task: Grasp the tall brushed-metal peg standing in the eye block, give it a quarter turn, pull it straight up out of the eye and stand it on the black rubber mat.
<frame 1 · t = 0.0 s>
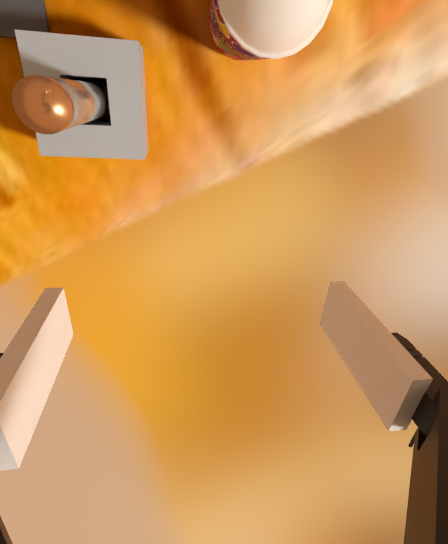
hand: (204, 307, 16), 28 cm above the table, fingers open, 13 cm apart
eye block: (99, 100, 35), on the table
peg: (78, 102, 27), in the eye block
smoothie: (239, 23, 34), on the table
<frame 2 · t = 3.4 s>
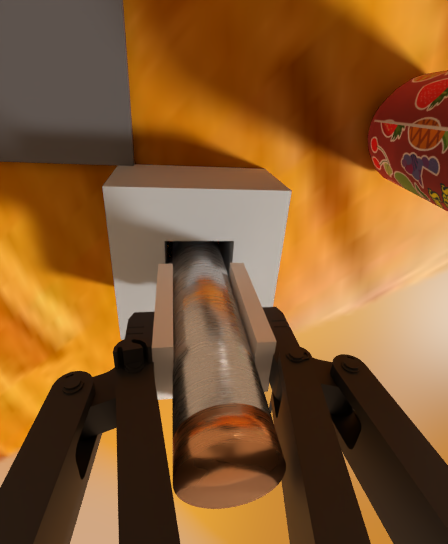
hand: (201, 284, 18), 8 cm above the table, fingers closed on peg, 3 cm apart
mat: (14, 47, 18), on the table
eye block: (193, 233, 24), on the table
peg: (203, 299, 17), in the eye block, touching gripper
smoothie: (402, 129, 23), on the table
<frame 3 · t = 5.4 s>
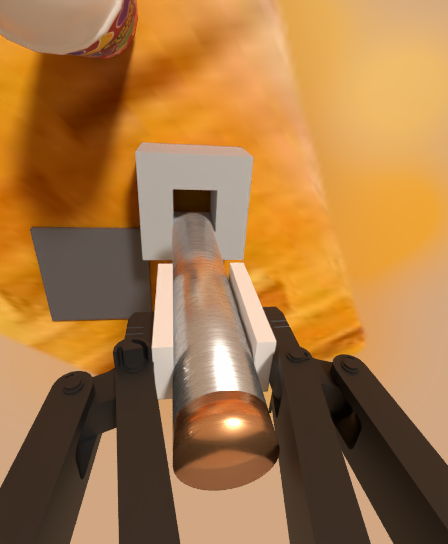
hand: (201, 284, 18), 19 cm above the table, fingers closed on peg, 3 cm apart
mat: (98, 275, 38), on the table
eye block: (192, 193, 35), on the table
peg: (202, 295, 17), point 20 cm above the table, touching gripper
smoothie: (97, 11, 27), on the table
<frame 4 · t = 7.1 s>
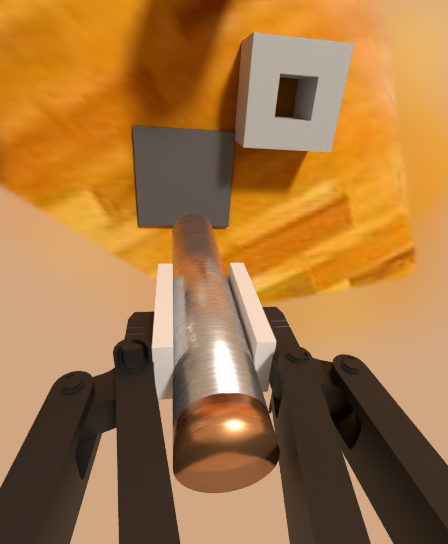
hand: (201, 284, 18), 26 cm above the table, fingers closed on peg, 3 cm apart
mat: (184, 179, 41), on the table
eye block: (279, 97, 38), on the table
peg: (202, 296, 17), point 27 cm above the table, touching gripper
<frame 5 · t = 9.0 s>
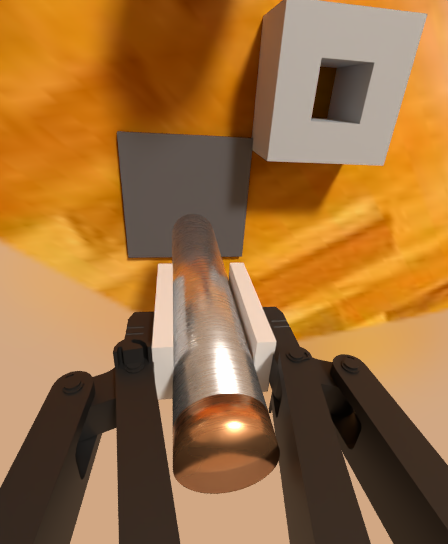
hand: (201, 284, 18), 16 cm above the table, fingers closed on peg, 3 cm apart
mat: (186, 200, 32), on the table
eye block: (310, 92, 29), on the table
peg: (202, 296, 17), point 17 cm above the table, touching gripper
when the fingers open (9 cm above the table, at t = 10.6 s): peg stays where it is, resting on mat.
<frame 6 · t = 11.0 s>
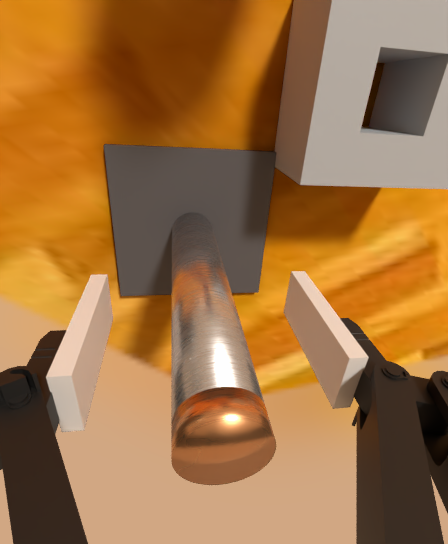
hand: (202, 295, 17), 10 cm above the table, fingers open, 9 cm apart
mat: (192, 227, 26), on the table
eye block: (350, 94, 23), on the table
peg: (201, 293, 17), on the mat, point 10 cm above the table
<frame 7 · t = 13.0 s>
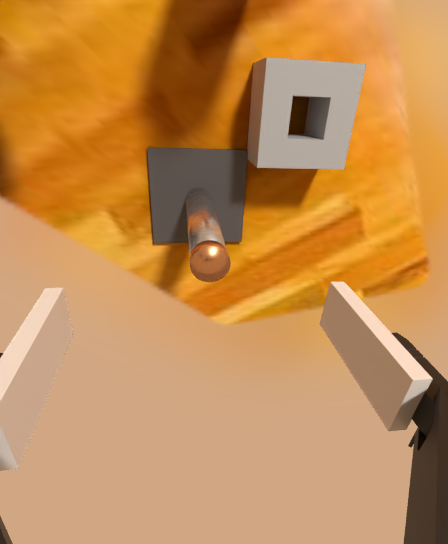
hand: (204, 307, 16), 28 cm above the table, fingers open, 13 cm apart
mat: (198, 197, 42), on the table
eye block: (290, 115, 38), on the table
peg: (202, 224, 33), on the mat, point 10 cm above the table
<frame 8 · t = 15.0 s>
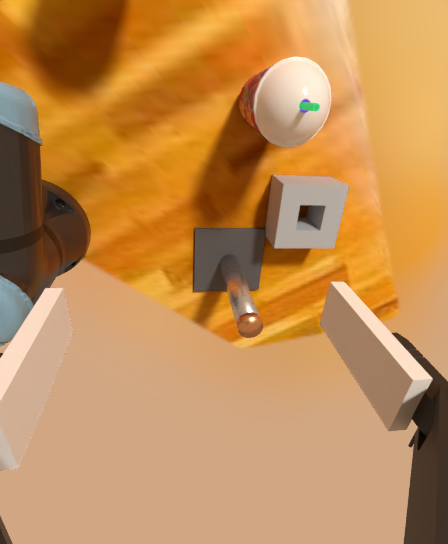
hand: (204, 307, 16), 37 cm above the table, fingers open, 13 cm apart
mat: (228, 260, 57), on the table
eye block: (297, 206, 54), on the table
peg: (237, 290, 49), on the mat, point 10 cm above the table
smoothie: (260, 101, 45), on the table
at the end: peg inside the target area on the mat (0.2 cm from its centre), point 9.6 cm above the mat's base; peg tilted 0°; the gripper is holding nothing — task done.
